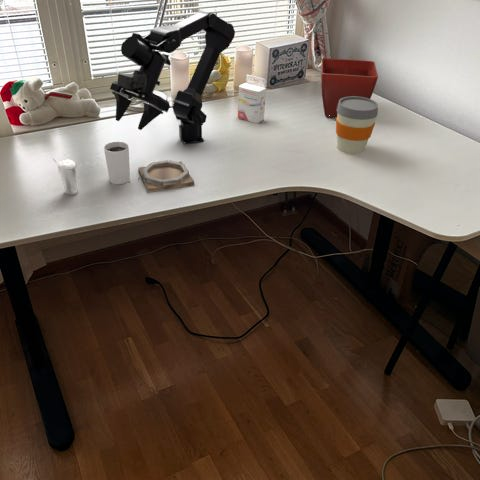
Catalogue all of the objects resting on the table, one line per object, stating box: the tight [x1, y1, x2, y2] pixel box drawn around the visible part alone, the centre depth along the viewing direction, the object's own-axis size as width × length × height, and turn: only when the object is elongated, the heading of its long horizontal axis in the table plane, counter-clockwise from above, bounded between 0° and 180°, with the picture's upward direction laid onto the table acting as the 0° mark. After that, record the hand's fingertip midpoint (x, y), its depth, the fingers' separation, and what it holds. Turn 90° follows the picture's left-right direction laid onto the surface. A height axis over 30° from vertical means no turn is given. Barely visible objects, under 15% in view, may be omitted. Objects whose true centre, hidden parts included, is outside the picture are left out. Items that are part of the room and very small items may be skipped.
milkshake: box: [52, 158, 78, 196], centre depth 138 cm, size 4×5×10 cm
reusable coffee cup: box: [335, 96, 379, 155], centre depth 164 cm, size 13×13×15 cm
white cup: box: [103, 141, 131, 185], centre depth 145 cm, size 7×7×10 cm
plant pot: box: [320, 57, 379, 119], centre depth 189 cm, size 19×19×17 cm
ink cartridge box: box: [237, 74, 267, 124], centre depth 182 cm, size 9×5×15 cm, turn 58°
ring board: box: [137, 159, 195, 193], centre depth 148 cm, size 13×13×2 cm
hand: (128, 124), depth 147 cm, fingers open, 9 cm apart
